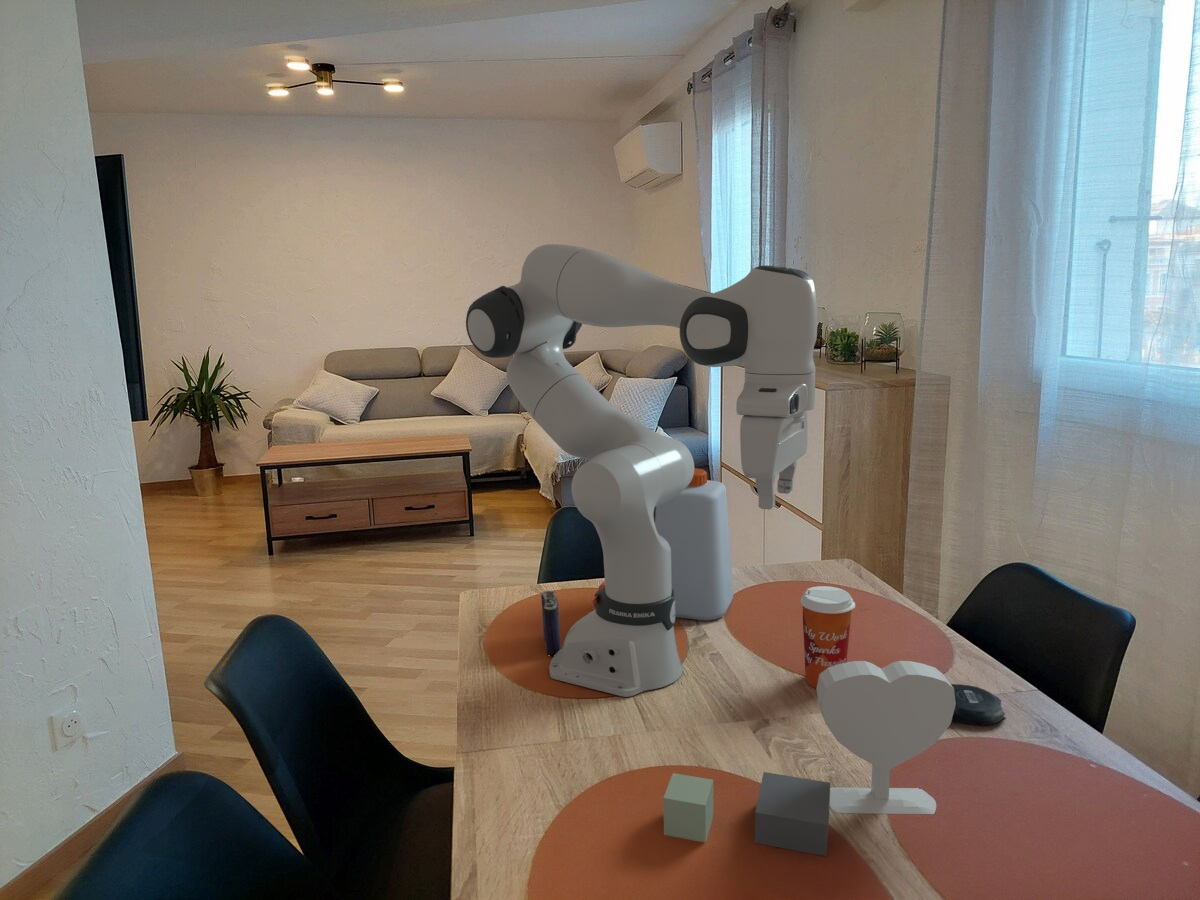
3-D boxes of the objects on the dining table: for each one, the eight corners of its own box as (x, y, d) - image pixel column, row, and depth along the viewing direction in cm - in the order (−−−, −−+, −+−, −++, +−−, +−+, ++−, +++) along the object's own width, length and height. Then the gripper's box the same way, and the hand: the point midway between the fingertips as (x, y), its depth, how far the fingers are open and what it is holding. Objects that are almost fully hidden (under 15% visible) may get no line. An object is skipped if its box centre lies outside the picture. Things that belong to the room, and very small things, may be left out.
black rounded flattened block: (904, 735, 115) (1014, 728, 112) (899, 698, 115) (1009, 690, 112) (892, 710, 124) (994, 702, 122) (888, 675, 124) (989, 667, 121)
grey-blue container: (737, 596, 164) (737, 464, 158) (721, 625, 150) (721, 482, 144) (666, 588, 169) (665, 461, 163) (645, 616, 155) (642, 478, 150)
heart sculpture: (936, 788, 100) (944, 657, 97) (950, 814, 96) (960, 677, 92) (812, 787, 101) (815, 658, 98) (820, 812, 96) (824, 677, 93)
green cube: (663, 835, 94) (663, 797, 93) (673, 808, 98) (672, 773, 97) (705, 843, 92) (705, 805, 91) (713, 816, 97) (713, 779, 96)
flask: (542, 635, 148) (540, 581, 146) (558, 634, 148) (556, 580, 146) (546, 658, 139) (543, 601, 137) (562, 656, 140) (560, 599, 137)
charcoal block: (754, 842, 92) (755, 812, 91) (763, 800, 99) (763, 771, 98) (826, 856, 89) (827, 825, 88) (829, 811, 97) (830, 782, 96)
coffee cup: (795, 689, 126) (796, 601, 123) (802, 666, 133) (804, 582, 130) (849, 698, 123) (853, 607, 120) (854, 673, 130) (857, 588, 127)
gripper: (775, 387, 112) (772, 482, 114) (731, 402, 94) (729, 515, 96) (820, 388, 109) (816, 486, 111) (784, 404, 91) (781, 520, 93)
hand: (776, 500), depth 103 cm, fingers open, 8 cm apart
